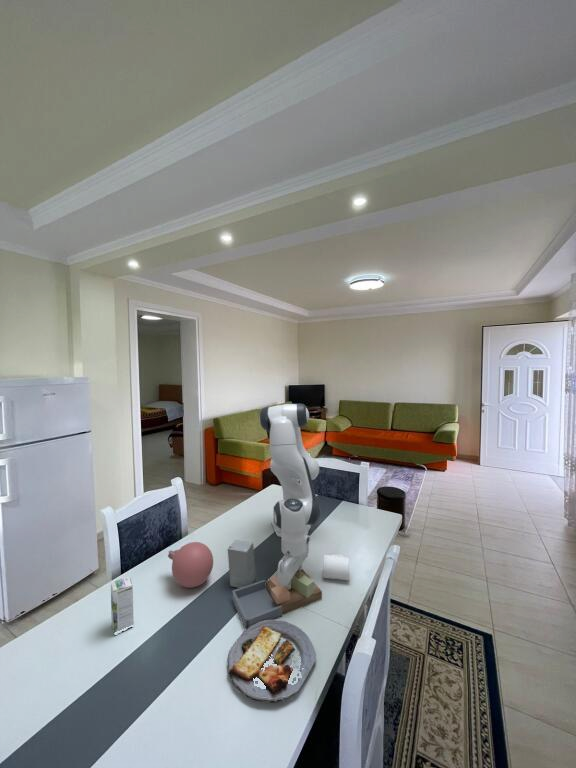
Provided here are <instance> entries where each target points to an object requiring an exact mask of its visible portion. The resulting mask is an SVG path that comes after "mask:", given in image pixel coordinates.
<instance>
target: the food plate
mask: <svg viewBox="0 0 576 768" xmlns="http://www.w3.org/2000/svg"><path fill="white" fill-rule="evenodd" d="M281 638H283V639H284V640H285V641H282V643H281V644H280V641H281ZM293 645H294V646H295V647H294V646H293ZM296 650H297V652H299V653H298V654H299V655H298V654H297V657H299V658H300V657H301V658H300V659H301V662H300V663H301V665H300V668H299V669H300V670H298V671H300V672H301V675H302V678H298V682H297V683H296V684H294V685H291V684H288V680H289V678H290V675H291V673H292V671H293V670H294V669H293V668H292V667H290V666H291V665H292V662H294V661H295V660H296V662H298V661H297V660H298V659H297V657H296V656H294V655H292V654H293V653H294V651H296ZM271 654H272V655H273V656H271ZM269 656H270V657H271V658H272V659H274V660H273V662H274V663H272V664H277V666H273V665H270V666H269V664H268V667H265V670H264V671H263V669H262V670H261V668H264V666H263V665H264V663H266V661H269V659H271V658H270V657H269ZM294 659H295V660H294ZM316 659H317V653H316V650H315V646H314V645H313V642H312V641H311V639H310V637H309V635H308V634H306V632H305V631H304V630H302V628H300V627H299V626H297V625H295V624H292V623H290V622H289V621H286V620H278V619H275V620H264V621H261V622H258V623H256V624H254V625H252V626H250V627H248V628H247V629H246V630H244V631H243V632H242V633H241V634H240V636H239V637H238V638H237V639H236V641H235V642H234V643H233V645H232V646H231V647H230V649H229V650H228V655H227V673H228V675H229V677H230V680H231V682H232V684H233V685H234V686H235V688H237V689H238V690H239V691H240V692H241V693H242V694H243V695H245V696H246V698H247V699H251V700H252V701H254V702H255V701H256V702H267V703H268V702H269V703H276V702H277V703H279V702H283V700H284V701H285V700H287V699H288V698H289V697H290V696H291V697H293V696H294V695H296V694H297V693H298V691H300V689H301V687H302V686H303V684H304V682H305V681H306V679H307V677H308V675H309V673H310V672H311V670H312V668H313V665H314V664H315V663H316V662H317V661H316ZM302 668H304V669H303V670H302ZM297 676H299V673H298V674H297ZM256 677H257V678H259V679H260V680H261V681H262V682H263V683H264V685H265V686H266V689H261V688H260V687H257V686H254V681H253V678H254V679H255V678H256ZM294 681H296V677H295V678H293V681H292V683H294ZM255 684H258V681H255Z"/></svg>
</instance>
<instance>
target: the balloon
mask: <svg viewBox="0 0 576 768" xmlns="http://www.w3.org/2000/svg"><path fill="white" fill-rule="evenodd" d="M167 557H168V559H170V560H172V564H171V574H172V576H173V578H174V581H175V582H176V583H177V584H178V585H180V586H181V587H183V588H188V589H189V588H190V589H191V588H192V589H193V588H196V587H199V586H201V585H202V584H203V583H205V581H207V580H208V578H209V577H210V575H211V574H212V572H213V571H212V570H213V568H214V556H213V553H212V551H211V549H210V548H209V547H208V546H207V545H206V544H205V543H203V542H200V541H192V542H188V543H186V544H184V545H183V546H181V547H180V548H179V549H175V550H169V551H168V554H167Z"/></svg>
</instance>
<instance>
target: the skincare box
mask: <svg viewBox="0 0 576 768" xmlns="http://www.w3.org/2000/svg"><path fill="white" fill-rule="evenodd" d="M227 559H228V571H229V573H228V574H229V586H230V587H233V588H236V589H239V588H242V587H245V586H248V585H251V584H254V583H255V581H256V577H257V576H256V563H255V547H254V542H253V541H245V540H241V539H234V541H233V542H232V543H231V544H230V545H229V547H227Z"/></svg>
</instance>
